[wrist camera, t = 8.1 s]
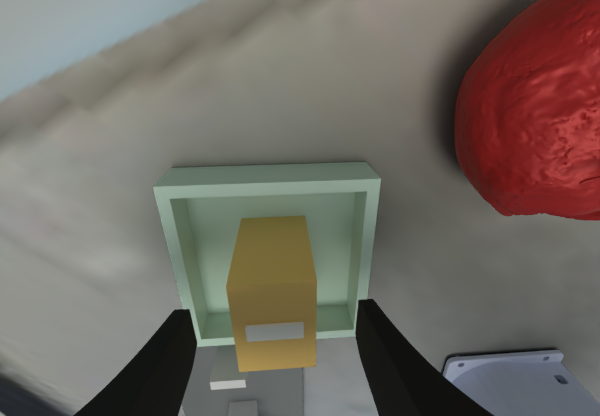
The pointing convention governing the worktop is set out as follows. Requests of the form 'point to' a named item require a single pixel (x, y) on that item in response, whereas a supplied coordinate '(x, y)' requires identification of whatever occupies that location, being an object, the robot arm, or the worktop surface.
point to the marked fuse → (273, 294)
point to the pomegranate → (536, 113)
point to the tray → (269, 203)
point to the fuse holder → (240, 387)
